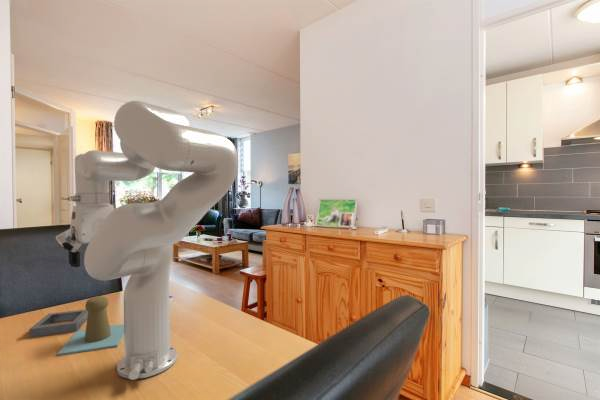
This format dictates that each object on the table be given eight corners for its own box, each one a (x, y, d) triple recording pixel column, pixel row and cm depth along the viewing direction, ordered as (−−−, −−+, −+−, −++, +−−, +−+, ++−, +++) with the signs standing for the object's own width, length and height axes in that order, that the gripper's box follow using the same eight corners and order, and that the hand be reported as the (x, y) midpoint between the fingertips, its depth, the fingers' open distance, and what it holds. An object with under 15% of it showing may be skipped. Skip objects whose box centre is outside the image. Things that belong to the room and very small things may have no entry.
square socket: (76, 331, 86) (76, 323, 86) (29, 337, 82) (29, 329, 82) (90, 316, 96) (89, 308, 96) (48, 321, 93) (48, 313, 92)
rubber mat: (117, 346, 77) (117, 344, 77) (57, 355, 73) (57, 353, 73) (128, 325, 89) (128, 323, 89) (77, 332, 85) (77, 330, 85)
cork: (97, 343, 78) (96, 302, 77) (78, 341, 79) (77, 300, 79) (116, 332, 84) (115, 294, 83) (98, 330, 85) (97, 293, 85)
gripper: (63, 201, 71) (66, 271, 71) (132, 199, 86) (134, 257, 87) (47, 201, 74) (50, 268, 74) (116, 199, 90) (118, 255, 90)
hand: (95, 262), depth 80 cm, fingers open, 9 cm apart
